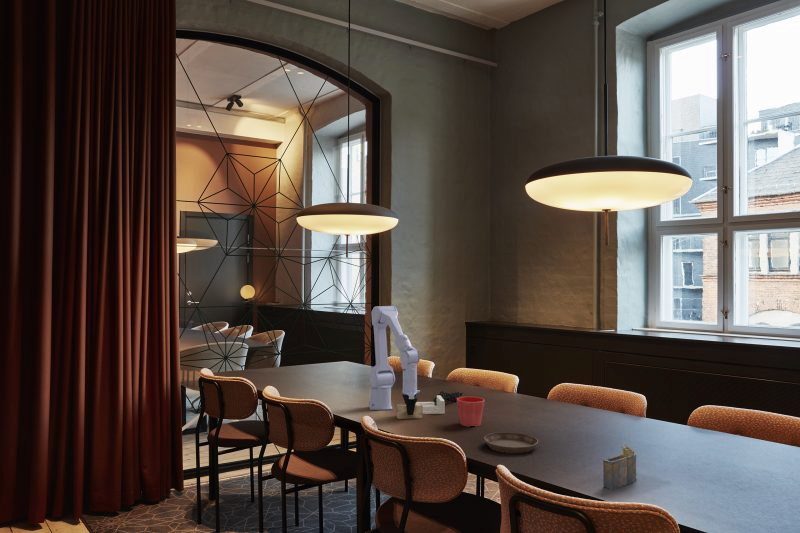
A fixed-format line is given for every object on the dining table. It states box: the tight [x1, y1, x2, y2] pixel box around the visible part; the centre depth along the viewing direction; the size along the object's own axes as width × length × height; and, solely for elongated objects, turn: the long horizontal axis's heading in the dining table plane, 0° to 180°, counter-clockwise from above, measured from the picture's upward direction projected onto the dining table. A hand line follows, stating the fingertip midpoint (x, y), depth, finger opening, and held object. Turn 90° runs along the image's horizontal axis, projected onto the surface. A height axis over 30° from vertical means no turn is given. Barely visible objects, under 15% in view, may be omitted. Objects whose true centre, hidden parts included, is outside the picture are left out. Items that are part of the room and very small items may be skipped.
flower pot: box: [456, 396, 485, 427], centre depth 235 cm, size 11×11×10 cm
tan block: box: [396, 403, 424, 420], centre depth 247 cm, size 10×4×5 cm, turn 95°
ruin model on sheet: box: [602, 445, 637, 490], centre depth 167 cm, size 11×3×10 cm, turn 127°
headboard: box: [416, 394, 446, 415], centre depth 258 cm, size 14×12×5 cm
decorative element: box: [432, 391, 463, 405], centre depth 273 cm, size 22×5×6 cm, turn 147°
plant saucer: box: [483, 431, 539, 454], centre depth 203 cm, size 18×18×3 cm
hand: (409, 413), depth 247 cm, fingers closed on tan block, 4 cm apart
